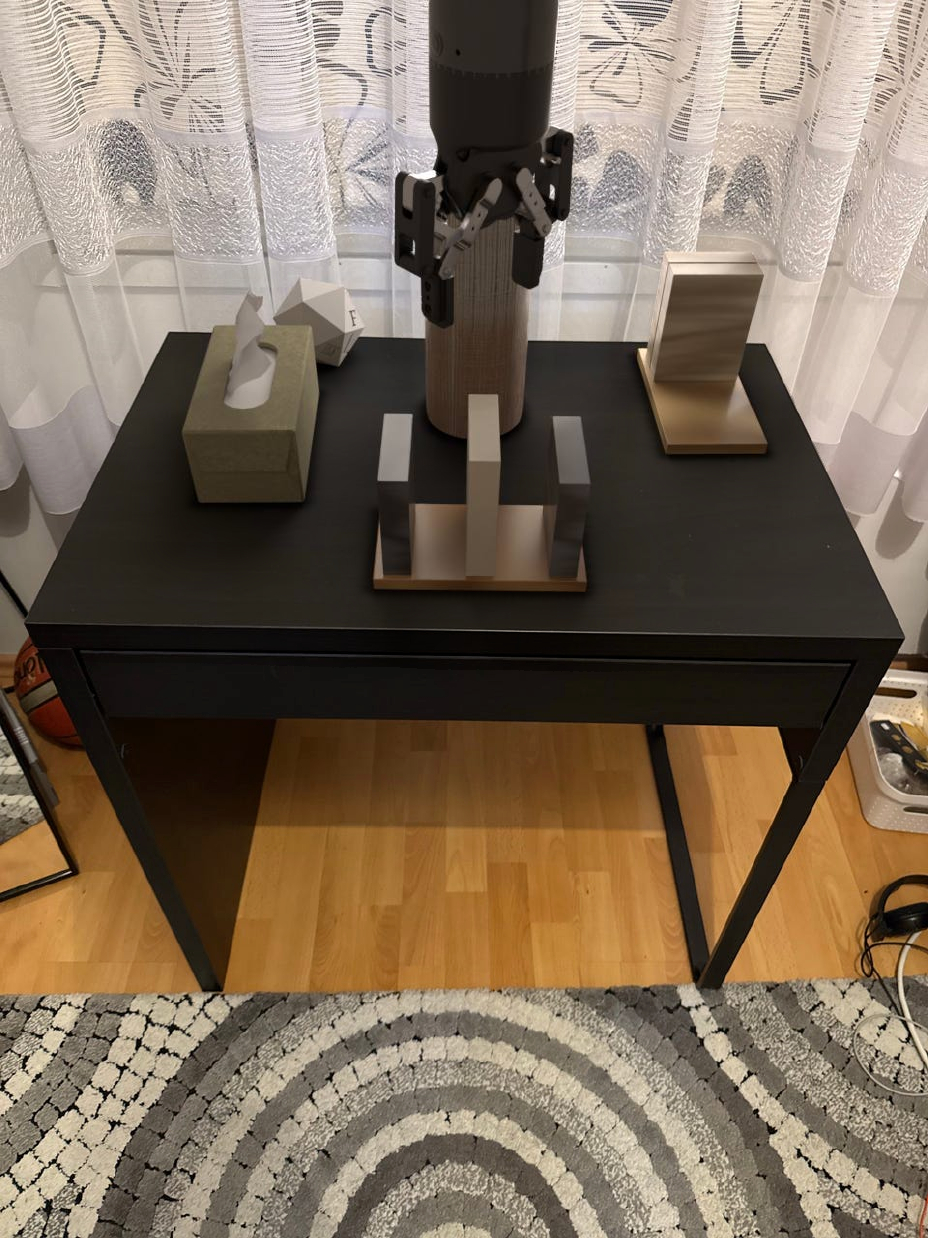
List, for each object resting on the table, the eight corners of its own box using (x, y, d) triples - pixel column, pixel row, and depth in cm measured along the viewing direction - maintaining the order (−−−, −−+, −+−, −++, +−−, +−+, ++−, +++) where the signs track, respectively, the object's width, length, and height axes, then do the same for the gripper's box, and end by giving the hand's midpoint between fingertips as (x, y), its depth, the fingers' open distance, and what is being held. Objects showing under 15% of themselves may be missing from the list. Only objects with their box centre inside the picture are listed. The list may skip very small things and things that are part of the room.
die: (307, 392, 100) (359, 319, 95) (246, 334, 100) (294, 258, 95) (341, 378, 108) (390, 311, 103) (283, 324, 107) (330, 254, 102)
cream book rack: (764, 453, 93) (802, 333, 83) (665, 454, 93) (691, 333, 83) (724, 357, 105) (752, 243, 96) (636, 357, 105) (656, 243, 95)
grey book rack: (575, 515, 86) (589, 412, 78) (585, 592, 79) (601, 488, 71) (381, 513, 86) (374, 409, 78) (373, 589, 79) (365, 485, 71)
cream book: (492, 507, 85) (497, 394, 76) (494, 576, 78) (500, 461, 70) (465, 507, 85) (468, 393, 76) (465, 576, 78) (468, 461, 70)
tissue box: (304, 505, 86) (282, 352, 75) (197, 506, 86) (160, 352, 74) (319, 392, 99) (303, 247, 88) (227, 392, 99) (199, 246, 87)
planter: (537, 430, 95) (556, 206, 78) (444, 449, 93) (444, 221, 76) (501, 379, 101) (512, 162, 85) (414, 395, 99) (408, 175, 82)
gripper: (446, 89, 50) (446, 359, 61) (619, 38, 56) (589, 290, 68) (357, 56, 53) (373, 317, 65) (529, 11, 60) (515, 255, 72)
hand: (483, 303), depth 67 cm, fingers open, 8 cm apart
